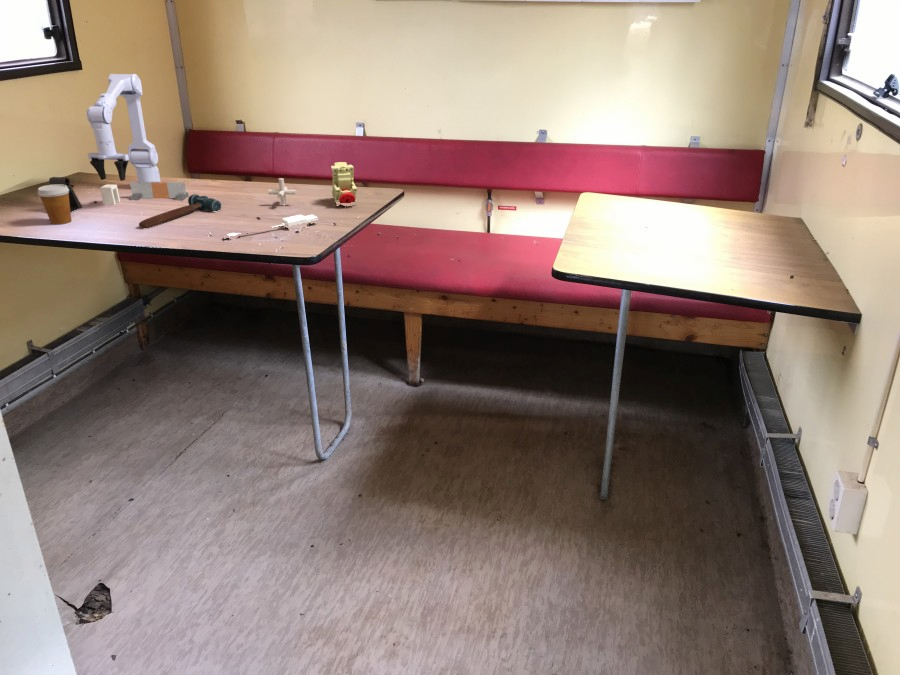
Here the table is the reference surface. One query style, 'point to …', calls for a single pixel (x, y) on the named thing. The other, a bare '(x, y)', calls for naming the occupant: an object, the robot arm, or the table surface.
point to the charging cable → (290, 221)
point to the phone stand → (72, 196)
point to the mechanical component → (343, 183)
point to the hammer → (183, 210)
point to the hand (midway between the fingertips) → (113, 179)
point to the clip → (110, 194)
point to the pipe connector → (282, 191)
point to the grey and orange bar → (158, 190)
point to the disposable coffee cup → (56, 202)
